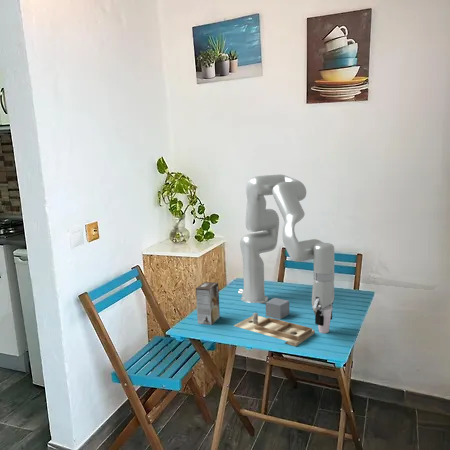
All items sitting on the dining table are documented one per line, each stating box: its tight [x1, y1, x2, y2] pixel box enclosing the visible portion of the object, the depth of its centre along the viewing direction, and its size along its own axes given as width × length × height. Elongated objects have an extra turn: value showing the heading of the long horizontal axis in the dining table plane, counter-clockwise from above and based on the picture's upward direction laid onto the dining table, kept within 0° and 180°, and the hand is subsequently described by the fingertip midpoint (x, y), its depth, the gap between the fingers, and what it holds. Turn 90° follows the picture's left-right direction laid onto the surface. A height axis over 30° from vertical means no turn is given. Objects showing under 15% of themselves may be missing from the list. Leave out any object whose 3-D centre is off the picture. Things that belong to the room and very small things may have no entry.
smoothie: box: [317, 305, 333, 334], centre depth 166 cm, size 6×6×14 cm
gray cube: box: [265, 297, 290, 321], centre depth 182 cm, size 7×7×7 cm
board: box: [233, 312, 316, 347], centre depth 169 cm, size 28×14×5 cm, turn 51°
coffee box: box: [195, 281, 221, 326], centre depth 179 cm, size 9×6×16 cm
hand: (323, 321), depth 167 cm, fingers closed on smoothie, 6 cm apart
